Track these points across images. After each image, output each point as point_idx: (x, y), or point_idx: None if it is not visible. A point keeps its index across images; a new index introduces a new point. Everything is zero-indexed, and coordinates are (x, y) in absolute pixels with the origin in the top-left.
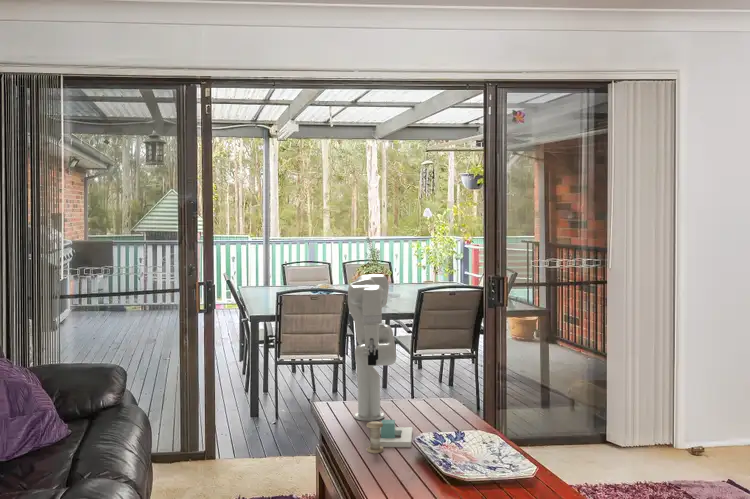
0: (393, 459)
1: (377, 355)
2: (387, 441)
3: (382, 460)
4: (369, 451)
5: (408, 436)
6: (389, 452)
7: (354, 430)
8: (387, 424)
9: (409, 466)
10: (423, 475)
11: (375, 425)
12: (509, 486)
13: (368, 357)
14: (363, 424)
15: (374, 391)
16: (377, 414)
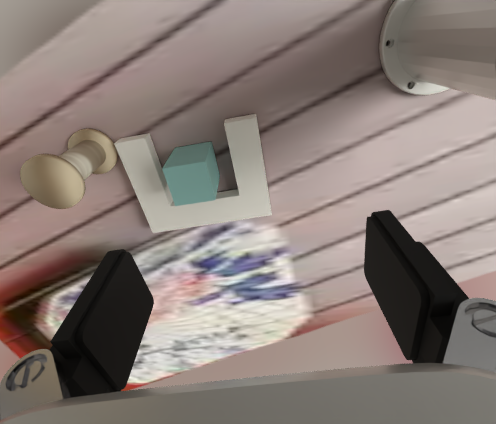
0: None
1: (380, 305)
2: (132, 180)
3: None
4: (70, 140)
5: (192, 220)
6: (103, 186)
7: (266, 20)
8: (169, 186)
9: (42, 243)
10: (13, 272)
11: (36, 191)
12: None
13: (73, 319)
14: (342, 35)
15: (466, 80)
16: (414, 76)
